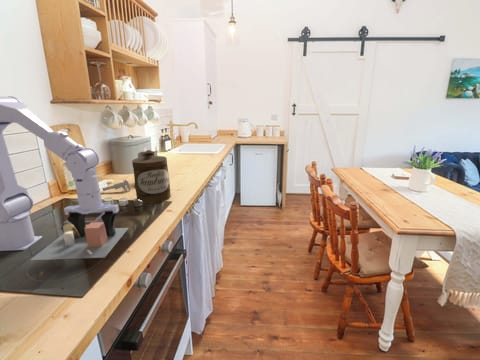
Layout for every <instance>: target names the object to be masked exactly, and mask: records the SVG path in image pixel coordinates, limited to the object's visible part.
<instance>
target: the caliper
mask: <svg viewBox="0 0 480 360" xmlns="http://www.w3.org/2000/svg"><path fill="white" fill-rule="evenodd" d="M101 188H102V189H103V191H102V192H104V191H109V190H114V189H115V190H119V189H121V188H122V189H123V190H124V192H127V189H128V191H129V192H130V190H131V185H130V182H129V180H127V179H126V178H125V179H122V182H117V183H114V184H113V185H108V186H105V187H101Z"/></svg>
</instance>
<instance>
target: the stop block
mask: <svg viewBox="0 0 480 360" xmlns="http://www.w3.org/2000/svg"><path fill="white" fill-rule="evenodd" d="M84 229H85V234H86V239H87V244H88V247H102V246H103V245H104V244H105V242H106V241H107V240H108V238H107V234H106V229H105V225H104V222H103V221H101V222H91V223H90V224H89V225H88V226H87V227H85V228H84Z"/></svg>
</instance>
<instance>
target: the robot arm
mask: <svg viewBox="0 0 480 360" xmlns="http://www.w3.org/2000/svg"><path fill="white" fill-rule="evenodd" d="M14 123H15V124H17V125H19V126H21V128H22V127H23V128H24V129H25V130H27V131H28V132H31V134H33V135H35V136H36V137H38V138H39V139H41V140H43V146H44V147H45V148H46V149H48V150H49V151H50V152H51V153H53V154H54V155H55V156H57V157H58V158H59V159H61V160H62V161H64V165H65V167H66V169H67V170H68V172H70V175H71V178H73V180H74V181H73V182H74V185H75V186H74V187H75V191H76V196H77V201H78V204H77V205H67V206H66V207H64V208H63V210H64V211H63V212H64V215H65V216H68V217H67V218H66V219H67V220H68V221H69V222H70V223H72V224H73V226H74V227H75V228H76V229H77V231H78V233H79V234H80V236H81V237H84V236H85V235H86V234H85V229H84V228H85V227H86V225H85V221H86V218H85V214H89V213H105V214H104V215H102V216H101V218H102V222H104V225H105V229H106V234H107V236H110V235H111V234H112V231H113V223H114V224H115V219H116V216H117V213H119V211H120V208H119V204H115V203H114V204H113V203H105V202H102V194H101V192H100V183H99V179H98V172H97V166H98V165H99V162H100V159H99V155H98V153H97V152H96V151H95V150H94V149H93V148H91V147H84V146H83V145H82V144H79V143H78V142H76V141H75V140H73V138H71V137H70V136H69V134H68V133H67V132H65V131H62V130H61V131H60V130H56V131H54V129H52V128H50V126H49V125H48V124H46V123H44V122H43V121H42V120H41V119H40V118H39V117H37V116H36V115H35V114H34V113H33V112H32V111H31V110H29V109H28V105H27V104H26V103H24V102H22V101H21V100H20V99H19V98H17V97H16V96H10V95H9V96H0V252H4V251H5V252H6V251H7V252H8V251H9V252H10V251H24V250H25V251H26V250H27V249H28V248H29V247H31V246H32V245H34V244H35V243H36V242H38V241H39V240H41V239H42V238H43V236H42V235H35V232H34V228H33V224H32V220H31V217H30V214H31V213H32V212H31V210H32V209H33V207H34V201H33V198H32V197H31V195H30V194H29V192H28V189H27V188H26V187H25V186H21V185H19V184H18V181H17V178H16V174H15V170H14V168H13V164H12V160H11V157H10V153H9V151H8V147H7V144H6V140H5V136H4V133H3V131H5V129H6V128H7V127H8V126H9V125H12V124H14Z"/></svg>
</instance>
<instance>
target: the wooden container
mask: <svg viewBox="0 0 480 360" xmlns="http://www.w3.org/2000/svg"><path fill="white" fill-rule="evenodd" d="M152 151H153V150H150V149H149V150H146V151H144V152H145V155H146V156H145V157H140V158H138V157H136V158H134V159H132V161H131V163H132V168H133V178H134V188H135V194H136V200H137V199H140V200H142V201H143V202H147V203H146V204H149V203H148V202H156V203H160V202H159V201H161V202H164V201H166V200H168V199H170V197H171V186H170V185H171V183H170V175H169V168H168V167H169V166H168V159H167V156H161V155H157V156H153V155H152V154H153V152H152Z"/></svg>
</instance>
